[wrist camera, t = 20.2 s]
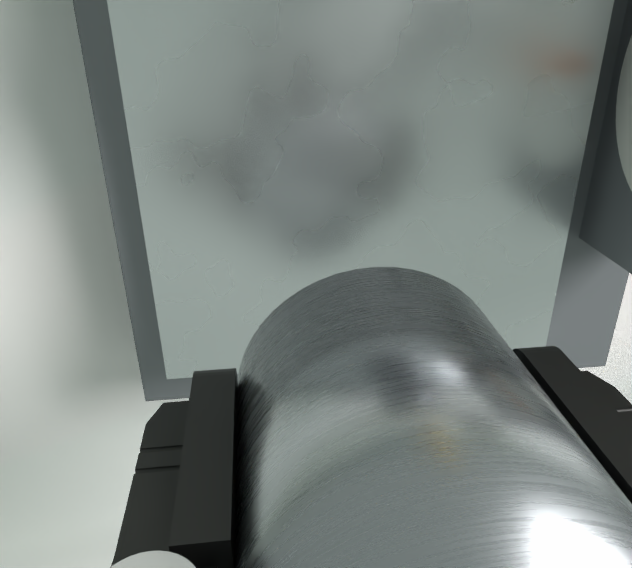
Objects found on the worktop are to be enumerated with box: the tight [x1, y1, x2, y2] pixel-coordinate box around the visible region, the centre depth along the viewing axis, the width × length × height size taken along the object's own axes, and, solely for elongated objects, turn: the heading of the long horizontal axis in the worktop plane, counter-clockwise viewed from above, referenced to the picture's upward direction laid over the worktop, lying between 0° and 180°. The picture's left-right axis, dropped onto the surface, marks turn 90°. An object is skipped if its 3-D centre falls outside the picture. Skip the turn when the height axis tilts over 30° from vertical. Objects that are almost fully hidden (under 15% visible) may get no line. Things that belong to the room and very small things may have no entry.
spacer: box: [235, 267, 632, 568], centre depth 8 cm, size 5×5×6 cm
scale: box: [73, 0, 632, 401], centre depth 13 cm, size 16×20×11 cm
